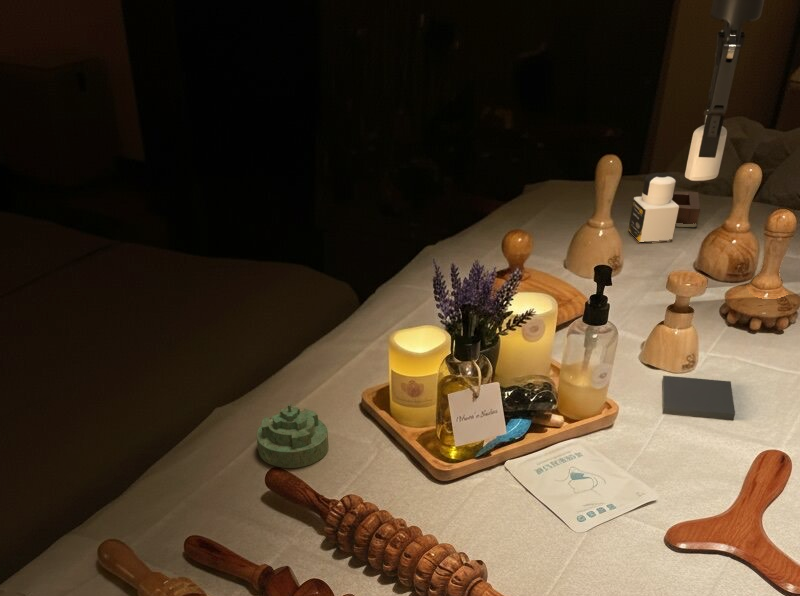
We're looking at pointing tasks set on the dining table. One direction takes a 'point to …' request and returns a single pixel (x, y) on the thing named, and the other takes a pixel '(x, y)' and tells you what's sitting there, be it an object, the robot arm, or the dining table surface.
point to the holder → (687, 206)
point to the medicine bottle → (654, 209)
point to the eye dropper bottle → (704, 158)
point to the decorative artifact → (292, 438)
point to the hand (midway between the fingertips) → (706, 152)
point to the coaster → (697, 397)
